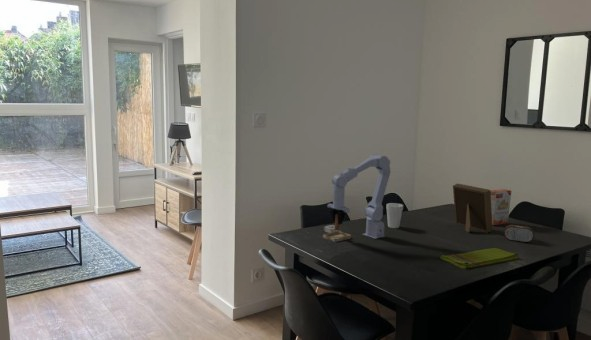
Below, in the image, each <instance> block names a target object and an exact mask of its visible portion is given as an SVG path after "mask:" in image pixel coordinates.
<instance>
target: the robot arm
mask: <svg viewBox="0 0 591 340" xmlns="http://www.w3.org/2000/svg"><path fill="white" fill-rule="evenodd" d="M390 166H391V160H390V159H389V157H388V156H387V155H381V154H378V153H375V154H372V155H370V156H368V158H367V159H365V160H363V162H361V163H360V164H358V165H356V166H355V167H352V166H351V167H347V169H346V170H345V171H343V172H341V171H340V173H339V174H335V175H334V176H333V177H332V179H331V182H332V185H333V195H332V196H333V198H332V199H333V200H332V203H327V206H326V207H327V208H328V209H329V212H330V215H331V217H332V222H333V224H335V214H337V215H338V224H341V225H342V224H343V221H344V218H345V216H346V214H348V213H350V208H348V207H347V206H345V187H346V186H347V184H348V183H349V182H351V181H353V180H354V179H355V178H357V177H358V175H359V173H361V172H363V171H365V170H367V169H369V168H371V167H374V168H376V169H377V172H378V176H377V177H378V178H377V181H376V183H375V188H374V191H373V195H372V197H371V198H372V199H371V200H370V201H369V202H368V203H367V206H366V207H365V209H364V215H365V217H366V221H365V222H366V225H365V233H362V235H363V236H366V237H370V238H371V239H374V240H375V239H379V238H385V237H386V235H385V223H384V222H383V221H381V220H382V218H383V217H384V216H383V215H384V211H383V210H384V206H383V205H382V203H383V200H384V197H385V192H386V189H387V185H388V182H389V179H390V174H391V167H390Z"/></svg>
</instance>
